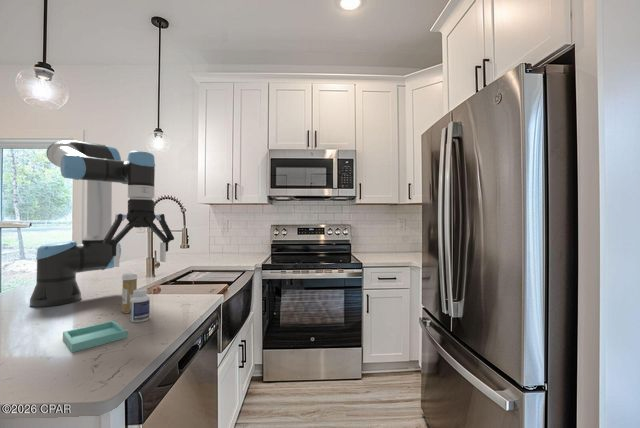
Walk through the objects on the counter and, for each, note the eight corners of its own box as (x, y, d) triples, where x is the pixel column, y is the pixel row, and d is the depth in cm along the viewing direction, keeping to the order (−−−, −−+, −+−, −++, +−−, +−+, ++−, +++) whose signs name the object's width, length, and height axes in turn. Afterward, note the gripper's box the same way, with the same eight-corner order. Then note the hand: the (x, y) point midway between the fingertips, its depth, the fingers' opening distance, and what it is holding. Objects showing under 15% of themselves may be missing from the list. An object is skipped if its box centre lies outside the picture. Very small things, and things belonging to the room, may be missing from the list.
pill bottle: (153, 318, 99) (153, 289, 99) (138, 323, 94) (139, 292, 94) (141, 316, 101) (141, 287, 101) (126, 321, 96) (126, 291, 96)
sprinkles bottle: (137, 312, 105) (137, 274, 105) (121, 314, 102) (122, 275, 102) (136, 308, 109) (137, 272, 109) (121, 310, 106) (122, 273, 106)
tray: (62, 339, 82) (62, 331, 82) (113, 326, 91) (114, 320, 91) (71, 352, 74) (71, 344, 74) (126, 337, 83) (126, 330, 83)
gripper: (98, 196, 86) (97, 270, 85) (184, 200, 104) (184, 260, 104) (91, 197, 90) (90, 267, 90) (175, 201, 109) (174, 258, 109)
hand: (140, 263), depth 97 cm, fingers open, 13 cm apart
